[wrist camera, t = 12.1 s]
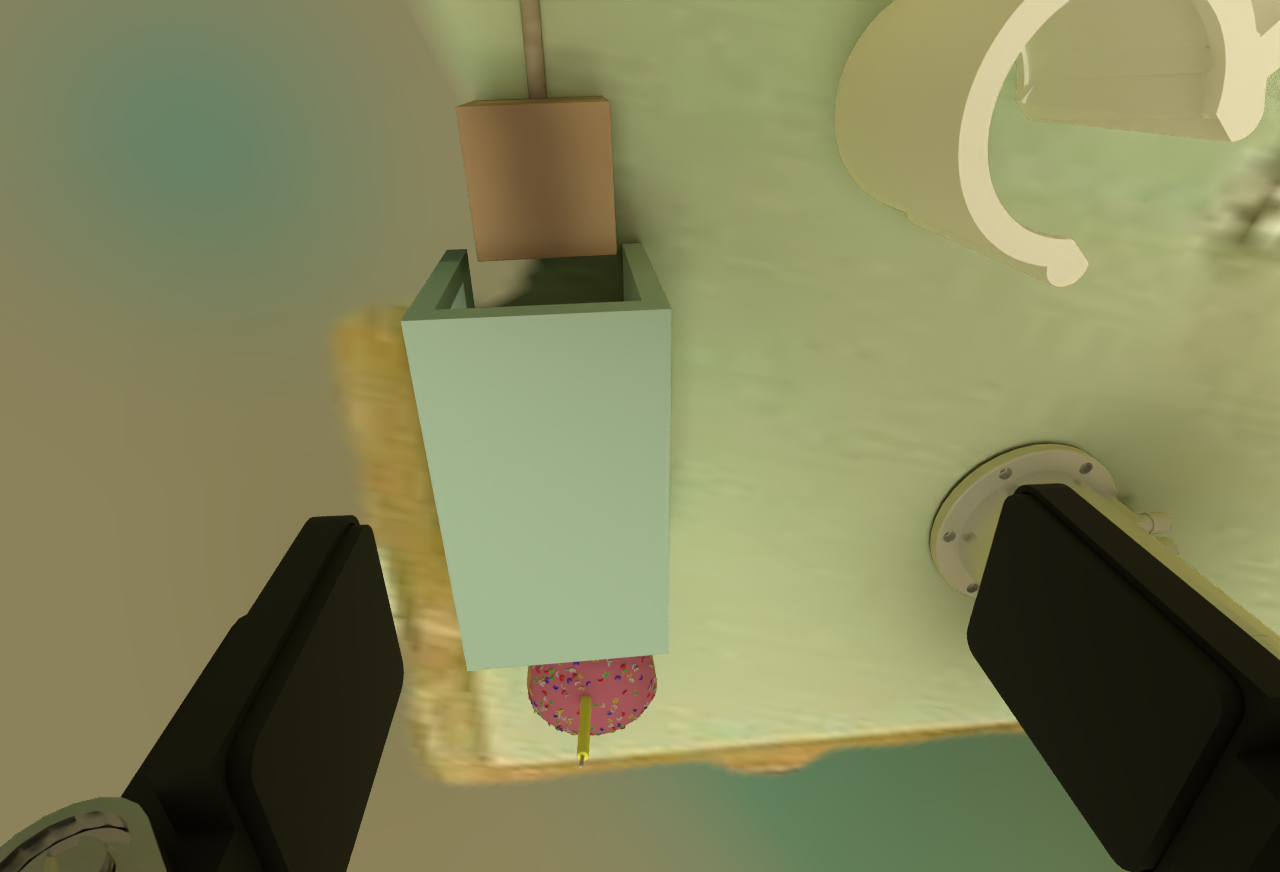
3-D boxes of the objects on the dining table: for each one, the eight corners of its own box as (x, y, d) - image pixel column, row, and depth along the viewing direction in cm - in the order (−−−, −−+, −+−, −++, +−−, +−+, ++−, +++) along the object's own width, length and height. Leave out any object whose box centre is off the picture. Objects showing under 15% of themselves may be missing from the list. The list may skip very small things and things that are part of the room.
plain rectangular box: (641, 242, 35) (671, 309, 26) (644, 523, 44) (668, 653, 34) (446, 249, 35) (400, 321, 25) (489, 534, 43) (467, 670, 33)
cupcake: (506, 614, 46) (489, 773, 36) (617, 565, 45) (633, 715, 35) (565, 689, 50) (566, 851, 40) (668, 646, 49) (697, 801, 39)
